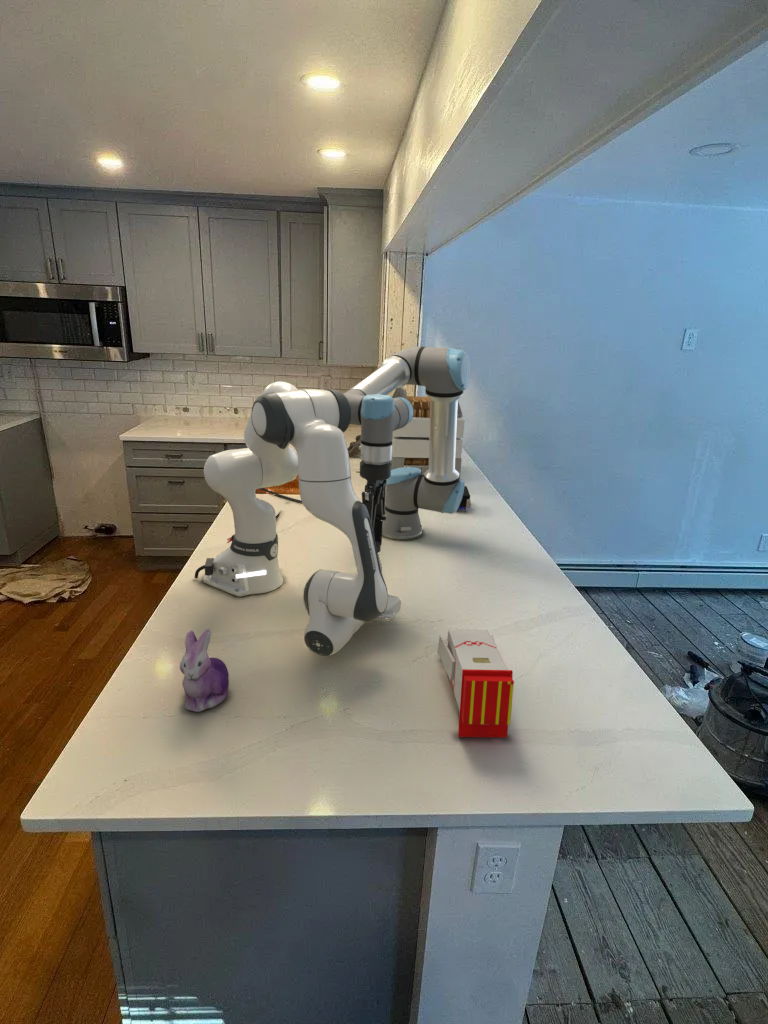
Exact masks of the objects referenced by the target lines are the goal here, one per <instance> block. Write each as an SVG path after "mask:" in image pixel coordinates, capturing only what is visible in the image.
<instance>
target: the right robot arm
mask: <svg viewBox="0 0 768 1024" xmlns="http://www.w3.org/2000/svg"><path fill="white" fill-rule="evenodd" d="M471 373H472V372H471V362H470V357H469V355H468V354H467V353H466V351H464V349H463V350H462V349H457V348H453V347H434V346H422V345H421V346H420V345H417V346H416V345H415V346H411V347H406V348H403V349H401V350H398V351H396V352H394V353H392V354H391V355H389V356H388V357H387V358H386V357H385V359H384V360H383V361H382V362H381V364H380V367H379V368H377V369H376V370H374V371H373V372H371V373H370V374H369V375H367V376H366V377H365V378H363V379H362V380H361V381H359V382H358V383H357V384H355V385H353V386H352V387H350V389H348V390H347V391H346V392H344V393H343V392H342V393H343V394H344V395H345V396H346V398H347V400H348V402H349V404H350V407H351V420H350V424H349V425H354V426H355V425H356V426H360V428H361V429H360V435H361V446H359V449H360V450H361V452H360V453H359V454H360V457H359V458H360V462H359V476H360V478H362V479H364V480H366V484H365V485H364V491H362V492H361V503H363V504H364V505H365V506H366V508H367V510H368V513H369V516H370V520H371V524H372V529H373V533H374V538H375V541H377V542H379V543H380V544H381V546H382V543H383V542H382V541H383V537H385V538H387V539H389V540H395V541H410V540H415V539H418V538H420V537H421V536H422V535H423V525H422V524H421V518H420V515H419V509H420V510H426V511H430V512H438V513H441V514H451V515H452V514H454V513H456V512H457V509H458V507H459V505H460V503H461V500H462V497H463V493H464V487H465V486H466V485H465V481H464V480H462V479H460V480H459V473H458V471H457V470H455V454H456V432H457V410H458V402H459V399H460V398H461V397H462V396H464V391H466V390H467V389H468V388H469V386H470V382H471ZM407 385H408V386H411V385H412V386H419V387H420V386H421V387H425V395H426V397H429V398H430V435H429V465H428V468H427V469H426V470H424V473H423V474H422V470H421V468H419V467H416V466H406V467H405V466H404V467H403V468H397V469H393V470H391V463H390V461H391V460H392V439H393V431H395V430H397V429H400V428H403V427H404V426H406V425H407V424H408V423H409V422H410V421H411V420H412V418H413V407H412V405H411V403H410V402H409V401H408V400H407V399H405V398H402V397H398V398H397V397H394V398H392V395H390V394H391V393H392V392H393V391H395V390H396V388H400V387H402V388H403V387H404V386H407ZM258 490H261V491H264V492H267V493H269V494H271V495H274V496H277V497H280V498H283V499H286V500H290V501H293V502H297V503H300V504H303V503H302V501H301V499H297V498H293V497H290V496H287V495H283V494H280V493H277V492H274V491H272V490H269V489H267V488H259V489H258Z"/></svg>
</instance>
